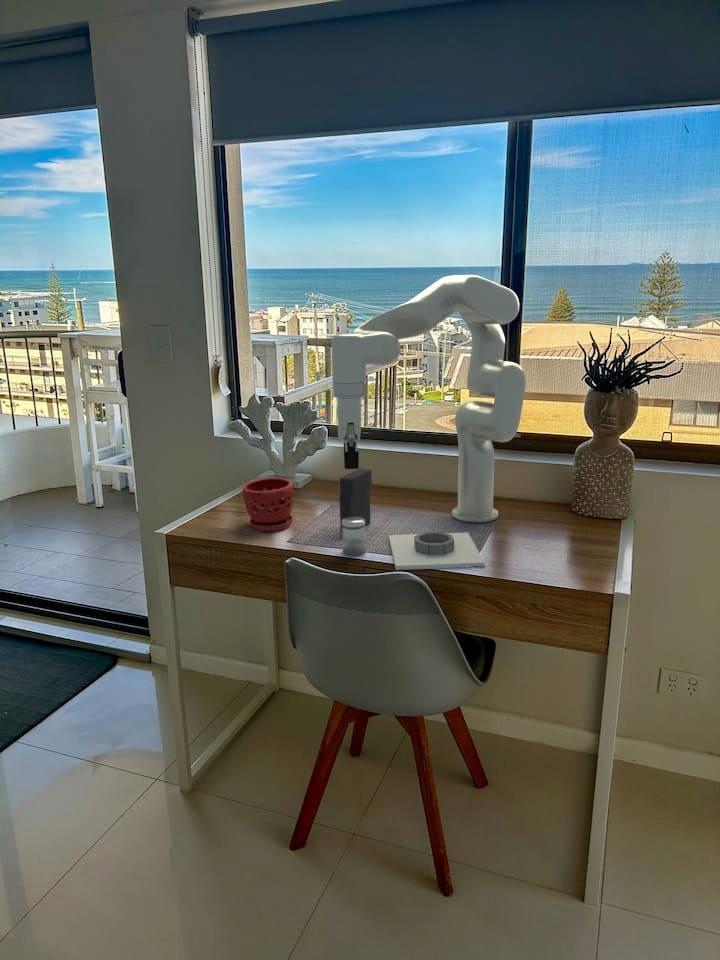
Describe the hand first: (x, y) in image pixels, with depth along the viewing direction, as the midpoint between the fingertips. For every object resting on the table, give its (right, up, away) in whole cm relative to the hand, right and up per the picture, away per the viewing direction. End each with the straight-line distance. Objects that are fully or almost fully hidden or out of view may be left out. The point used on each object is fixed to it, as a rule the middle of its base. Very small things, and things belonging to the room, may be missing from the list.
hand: (351, 463), depth 158 cm
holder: (+20, -21, +4) cm, 29 cm away
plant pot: (-22, -16, +26) cm, 38 cm away
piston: (+1, -21, +6) cm, 22 cm away
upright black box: (+1, -17, +22) cm, 28 cm away
